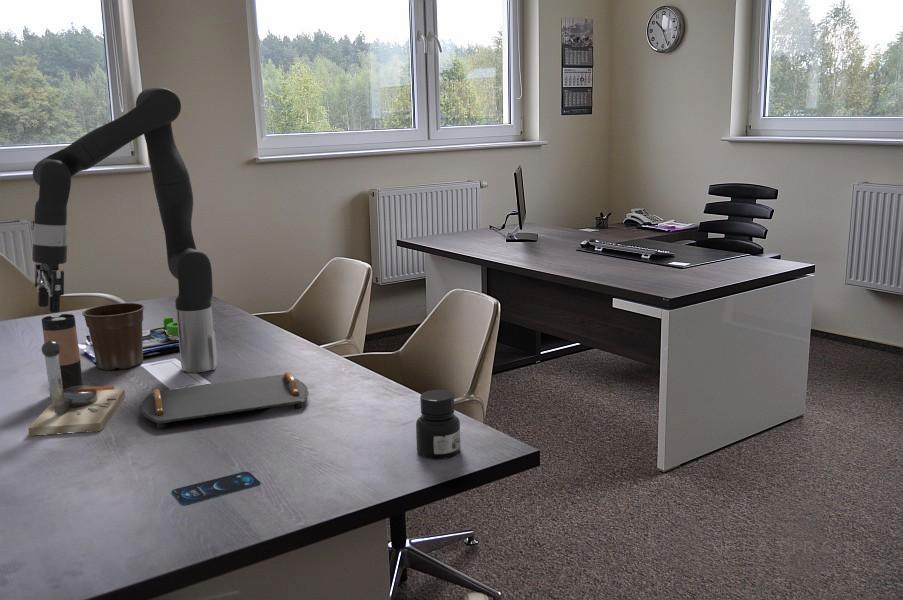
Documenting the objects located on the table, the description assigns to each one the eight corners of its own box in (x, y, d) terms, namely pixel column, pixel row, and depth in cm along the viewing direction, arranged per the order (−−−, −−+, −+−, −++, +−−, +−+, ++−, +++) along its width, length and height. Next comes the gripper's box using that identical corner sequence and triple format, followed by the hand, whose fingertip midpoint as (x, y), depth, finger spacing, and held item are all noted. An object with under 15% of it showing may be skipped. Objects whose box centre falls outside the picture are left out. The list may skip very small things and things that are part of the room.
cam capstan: (119, 392, 206) (111, 324, 202) (103, 414, 191) (94, 340, 187) (63, 396, 204) (54, 327, 200) (42, 418, 189) (33, 344, 185)
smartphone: (262, 484, 158) (182, 505, 150) (262, 486, 158) (182, 508, 150) (247, 470, 164) (170, 489, 156) (248, 473, 164) (170, 492, 156)
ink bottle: (444, 464, 165) (442, 406, 163) (407, 455, 170) (405, 398, 167) (469, 447, 173) (468, 391, 171) (433, 439, 178) (432, 385, 175)
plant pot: (75, 369, 233) (68, 313, 230) (118, 354, 248) (112, 300, 244) (121, 375, 227) (114, 317, 224) (162, 359, 242) (156, 304, 238)
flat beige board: (125, 396, 210) (124, 387, 209) (101, 431, 186) (99, 421, 186) (61, 400, 208) (60, 391, 207) (29, 436, 184) (28, 426, 184)
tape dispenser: (193, 339, 264) (192, 325, 263) (169, 342, 261) (168, 328, 260) (185, 329, 277) (184, 315, 276) (163, 331, 274) (161, 318, 273)
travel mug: (71, 400, 208) (61, 321, 204) (44, 398, 209) (34, 320, 205) (90, 390, 215) (81, 314, 211) (64, 388, 217) (54, 313, 212)
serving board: (143, 436, 184) (141, 409, 183) (139, 404, 205) (137, 380, 204) (317, 410, 198) (316, 385, 197) (297, 382, 219) (295, 359, 218)
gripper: (76, 246, 200) (74, 313, 202) (57, 240, 211) (55, 304, 213) (42, 246, 195) (41, 314, 197) (24, 239, 206) (23, 305, 208)
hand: (48, 309), depth 205 cm, fingers open, 8 cm apart
